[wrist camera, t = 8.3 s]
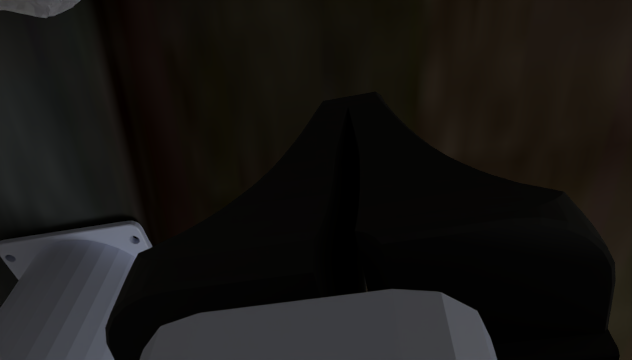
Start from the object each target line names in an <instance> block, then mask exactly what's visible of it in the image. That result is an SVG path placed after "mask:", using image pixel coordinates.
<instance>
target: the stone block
mask: <svg viewBox="0 0 632 360" xmlns="http://www.w3.org/2000/svg"><path fill="white" fill-rule="evenodd" d="M79 1H80V0H0V10H7V11H13V12H17V13H21V14H27V15H32V16H36V17H43V18H47V17H48V16H55V15H57V14H60V13H62V12H64V11H66V10H68V9H70V8H72V7H73V6H74V5H75V4H77V3H78V2H79Z"/></svg>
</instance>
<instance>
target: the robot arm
mask: <svg viewBox="0 0 632 360" xmlns="http://www.w3.org/2000/svg"><path fill="white" fill-rule="evenodd" d="M133 236H136V237H138V238H139V239H136V238H134V237H133ZM0 257H1V258H2V259H3V261H4V262H5V263H6V264H7V266H8V267H9V268H10V270H11V271H12V272H13V274H14V275H15V276H16V278H17V279H18V280H19V281H18V282H17V284H16V285H15V287H14V288H13V290H12V291H11V293H10V294H9V296H8V297H7V299H6V300H5V302H4V303H3V305H2V306H1V307H0V360H619V356H620V355H619V350H618V347H617V345H616V344H615V342H614V340H613V338H612V336H611V334H610V332H609V330H608V323H609V317H610V311H611V305H612V299H613V293H614V287H615V262H614V260H613V258H612V256H611V254H610V252H609V250H608V248H607V246H606V244H605V242H604V241H603V239H602V238H601V236H600V235H599V233H598V232H597V230H596V229H595V227H594V226H593V225H592V223H591V222H590V221H589V220H588V219H587V217H586V216H585V215H584V214H583V212H582V211H581V210H580V209H579V208H578V207H577V206H576V205H575V204H574V202H573V201H572V200H571V199H570V198H569V197H568V196H567V194H566V193H565V192H563V191H558V190H553V189H548V188H542V187H537V186H532V185H527V184H522V183H518V182H514V181H511V180H507V179H504V178H500V177H497V176H494V175H491V174H488V173H485V172H482V171H479V170H477V169H475V168H472V167H470V166H468V165H465V164H463V163H461V162H458V161H456V160H454V159H452V158H450V157H448V156H447V155H445V154H443V153H442V152H440V151H438V150H437V149H435V148H433V147H432V146H430V145H429V144H428V143H426V142H425V141H424V140H422V139H421V138H420V137H419V136H417V135H416V134H415V133H414V132H413V131H411V130H410V129H409V128H408V127H407V126H406V125H405V124H404V123H403V122H402V121H401V120H400V119H399V118H398V117H397V116H396V115H395V114H394V113H393V112H392V111H391V109H390V108H389V107H388V106H387V104H386V103H385V102H384V100H383V99H382V97H381V95H380V94H378V93H377V92H371V93H366V94H360V95H355V96H349V97H343V98H338V99H332V100H327V101H323V102H322V103H321V105H320V106H319V108H318V109H317V110H316V112H315V114H314V115H313V117H312V118H311V120H310V121H309V123H308V124H307V126H306V127H305V129H304V130H303V131H302V133H301V134H300V135H299V137H298V138H297V140H296V141H295V142H294V144H293V145H292V146H291V147H290V148H289V150H288V151H287V152H286V153H285V154H284V156H283V157H282V158H281V159H280V160H279V161H278V162H277V163H276V165H275V166H274V167H273V168H272V169H271V170H270V171H269V172H268V173H267V174H265V175H264V176H263V177H262V178H261V179H260V180H259V181H258V182H257V183H256V184H254V185H253V186H252V187H251V188H250V189H248V190H247V191H246V192H244V193H243V194H242V195H240V196H239V197H238V198H236V199H235V200H234V201H232V202H231V203H230V204H228V205H227V206H226V207H224V208H223V209H221V210H220V211H218V212H217V213H215V214H213V215H212V216H210V217H209V218H207V219H205V220H204V221H202V222H200V223H199V224H197V225H195V226H193V227H192V228H190V229H188V230H186V231H184V232H182V233H180V234H178V235H176V236H174V237H172V238H170V239H168V240H166V241H164V242H162V243H160V244H157V245H155V246H153V247H152V245H151V243H150V241H149V239H148V237H147V236H146V234H145V232H144V230H143V228H142V226H141V225H140V224H139V223H137V222H135V221H123V222H116V223H110V224H103V225H97V226H90V227H84V228H77V229H71V230H64V231H58V232H51V233H45V234H38V235H32V236H25V237H19V238H12V239H6V240H2V241H0ZM366 284H367V289H368V292H366Z"/></svg>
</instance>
